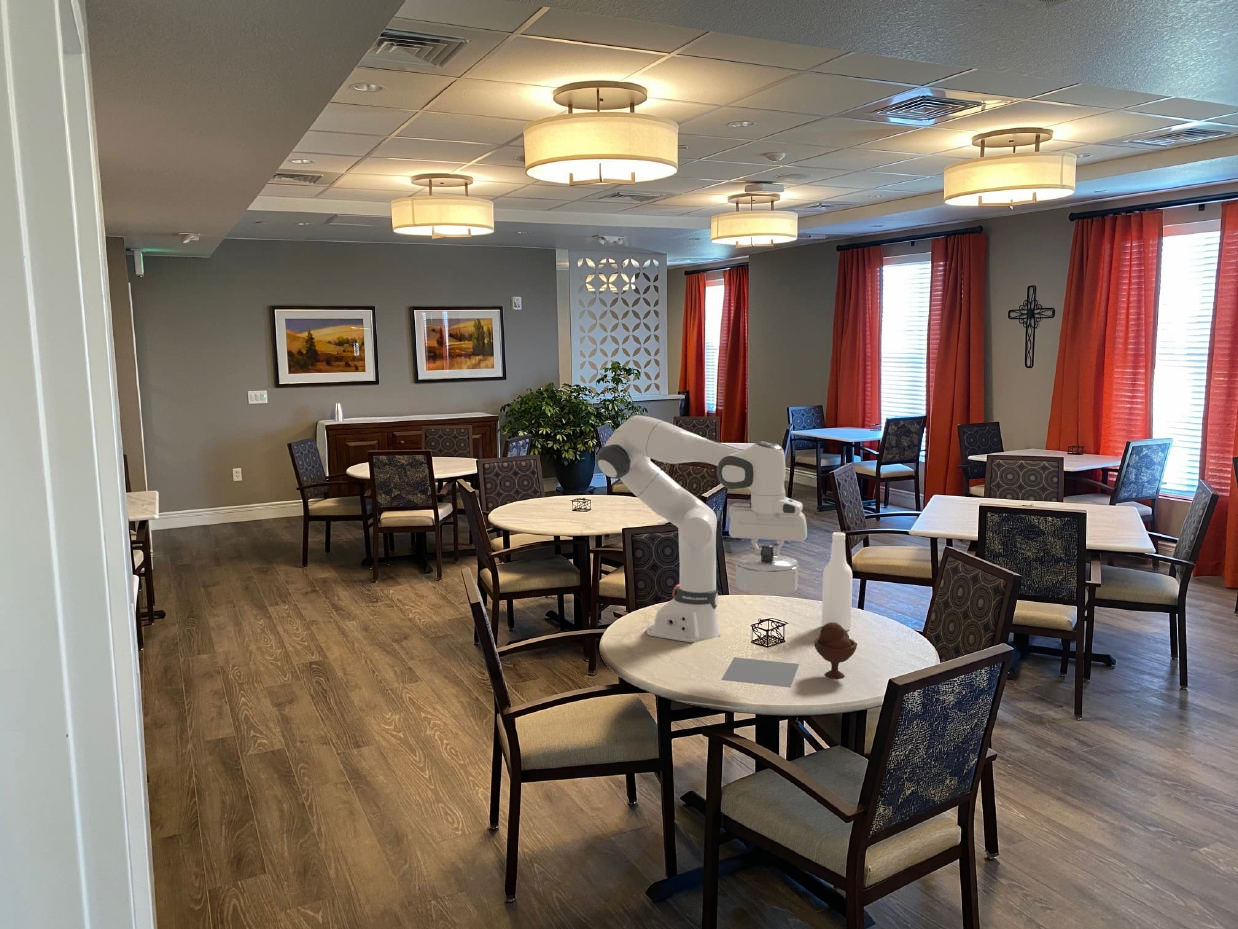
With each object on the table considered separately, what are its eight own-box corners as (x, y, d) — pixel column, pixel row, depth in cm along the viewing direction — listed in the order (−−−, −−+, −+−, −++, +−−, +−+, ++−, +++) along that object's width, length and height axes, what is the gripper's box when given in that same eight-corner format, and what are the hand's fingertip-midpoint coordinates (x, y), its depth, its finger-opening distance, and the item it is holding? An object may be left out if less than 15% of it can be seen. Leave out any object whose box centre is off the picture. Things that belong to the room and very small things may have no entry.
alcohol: (820, 623, 286) (822, 530, 283) (848, 624, 286) (851, 530, 282) (823, 632, 278) (825, 536, 274) (852, 632, 277) (855, 536, 273)
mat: (721, 681, 237) (721, 679, 237) (734, 658, 254) (734, 657, 254) (790, 688, 232) (790, 687, 232) (799, 665, 249) (799, 663, 249)
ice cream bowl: (857, 685, 234) (859, 629, 232) (813, 682, 236) (814, 626, 234) (855, 671, 244) (856, 617, 242) (812, 668, 246) (814, 615, 245)
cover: (732, 591, 235) (732, 550, 233) (743, 577, 249) (743, 538, 248) (792, 596, 230) (793, 554, 229) (800, 581, 245) (801, 541, 243)
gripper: (726, 504, 237) (726, 555, 239) (805, 507, 231) (804, 561, 233) (731, 500, 243) (730, 550, 245) (808, 503, 237) (807, 555, 238)
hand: (767, 555), depth 239 cm, fingers closed on cover, 3 cm apart
